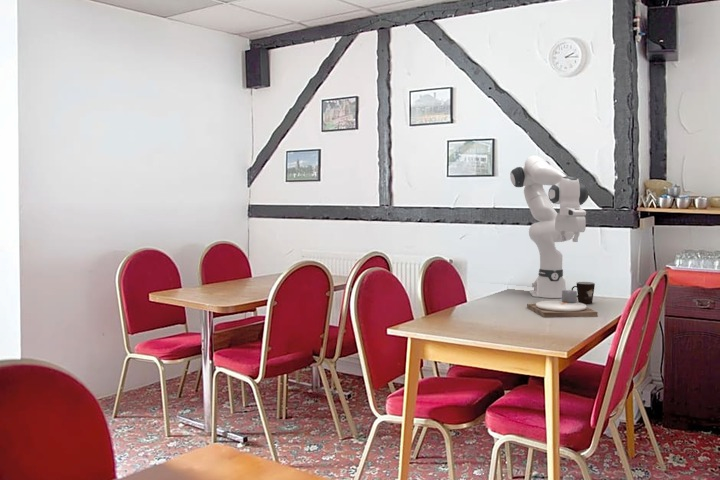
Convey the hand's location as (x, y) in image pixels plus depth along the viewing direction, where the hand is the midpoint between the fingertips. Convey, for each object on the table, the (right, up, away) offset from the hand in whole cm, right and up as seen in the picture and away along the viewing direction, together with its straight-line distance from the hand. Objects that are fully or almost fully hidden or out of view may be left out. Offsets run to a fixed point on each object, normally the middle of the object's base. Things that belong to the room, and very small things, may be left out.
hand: (569, 241), depth 327 cm
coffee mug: (+11, -30, +17) cm, 37 cm away
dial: (-6, -30, -7) cm, 31 cm away
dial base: (-6, -32, -7) cm, 33 cm away
